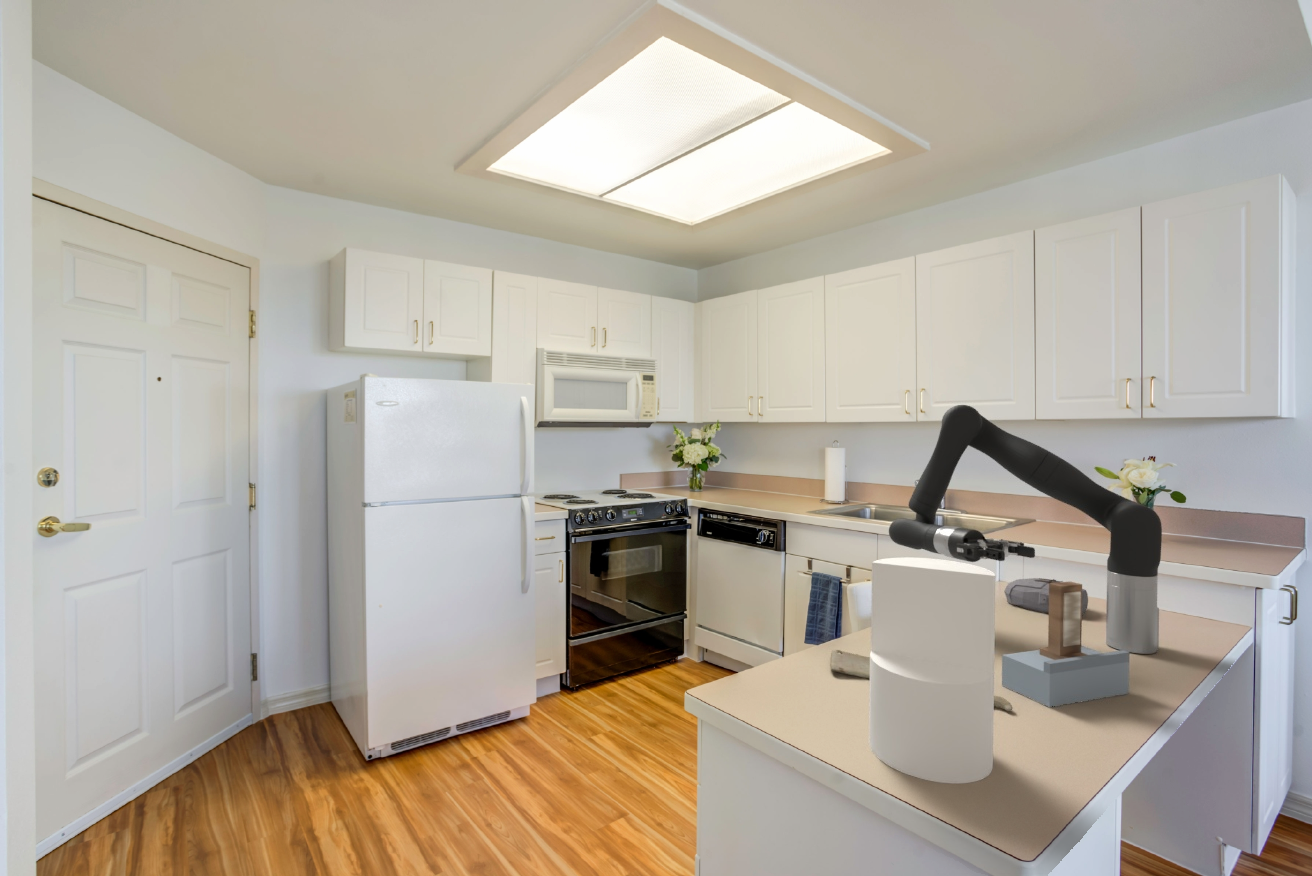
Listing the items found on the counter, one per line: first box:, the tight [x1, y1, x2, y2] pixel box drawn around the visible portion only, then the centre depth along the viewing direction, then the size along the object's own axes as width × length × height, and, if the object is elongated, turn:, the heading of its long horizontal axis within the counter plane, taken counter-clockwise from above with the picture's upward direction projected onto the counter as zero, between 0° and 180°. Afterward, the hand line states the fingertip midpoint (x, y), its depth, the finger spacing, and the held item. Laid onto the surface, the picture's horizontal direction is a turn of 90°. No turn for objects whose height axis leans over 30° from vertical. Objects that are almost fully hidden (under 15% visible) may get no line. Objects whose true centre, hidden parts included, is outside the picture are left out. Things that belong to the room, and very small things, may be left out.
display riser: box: [1001, 645, 1130, 708], centre depth 119 cm, size 20×10×8 cm, turn 109°
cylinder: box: [868, 557, 996, 784], centre depth 95 cm, size 17×17×28 cm
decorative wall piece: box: [829, 649, 1014, 712], centre depth 126 cm, size 30×3×30 cm
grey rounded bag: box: [1004, 577, 1089, 615], centre depth 176 cm, size 15×8×20 cm
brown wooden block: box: [1039, 581, 1087, 660], centre depth 119 cm, size 6×6×14 cm
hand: (1018, 554), depth 134 cm, fingers open, 8 cm apart
